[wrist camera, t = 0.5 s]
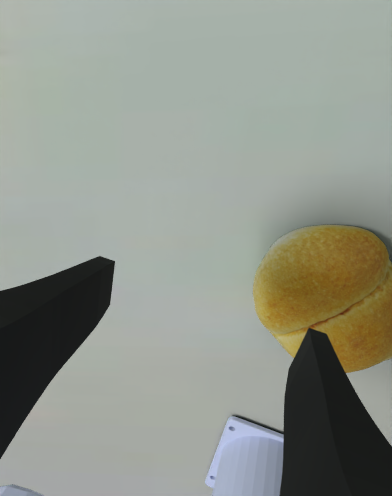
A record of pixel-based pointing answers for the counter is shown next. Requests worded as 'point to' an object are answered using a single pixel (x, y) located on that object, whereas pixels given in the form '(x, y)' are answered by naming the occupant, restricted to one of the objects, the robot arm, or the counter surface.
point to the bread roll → (329, 292)
